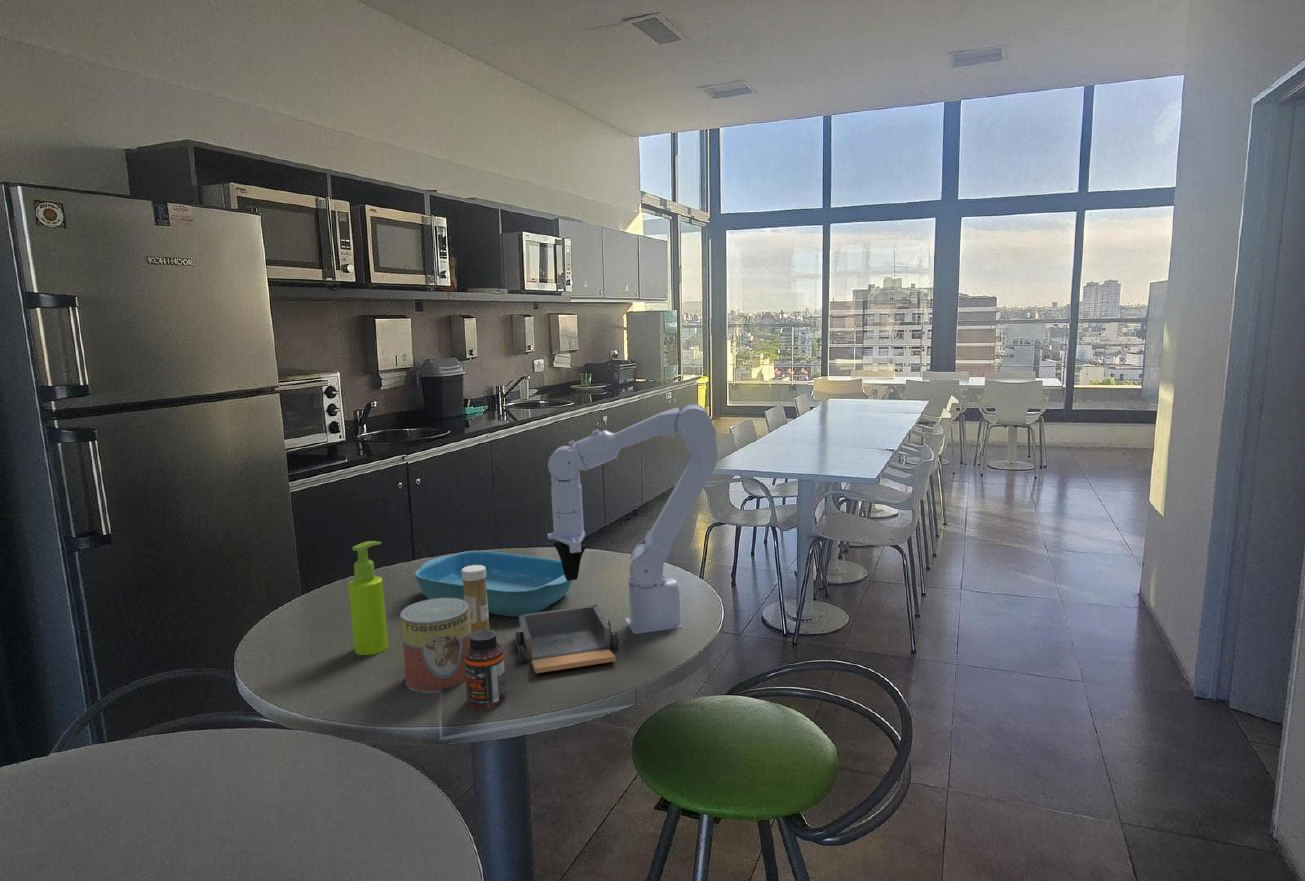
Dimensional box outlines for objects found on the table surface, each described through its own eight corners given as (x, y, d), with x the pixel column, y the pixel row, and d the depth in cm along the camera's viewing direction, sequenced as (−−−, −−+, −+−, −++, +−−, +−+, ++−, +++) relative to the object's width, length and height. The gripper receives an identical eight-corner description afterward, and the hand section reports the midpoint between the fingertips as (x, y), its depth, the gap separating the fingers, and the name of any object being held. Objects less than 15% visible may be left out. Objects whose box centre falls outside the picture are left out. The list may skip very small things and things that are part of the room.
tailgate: (608, 649, 134) (615, 656, 129) (608, 653, 134) (615, 661, 129) (531, 660, 131) (535, 668, 125) (531, 665, 131) (535, 673, 125)
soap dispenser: (399, 642, 143) (390, 540, 140) (371, 657, 137) (361, 550, 134) (375, 638, 145) (366, 537, 143) (347, 652, 139) (337, 547, 136)
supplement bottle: (459, 709, 117) (454, 639, 115) (482, 691, 122) (477, 624, 121) (492, 715, 115) (487, 644, 113) (513, 697, 120) (509, 629, 118)
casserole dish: (596, 591, 168) (594, 560, 167) (539, 629, 148) (537, 594, 147) (463, 574, 184) (461, 545, 182) (396, 606, 164) (393, 574, 163)
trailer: (603, 625, 148) (602, 603, 147) (618, 652, 135) (617, 628, 134) (513, 638, 143) (512, 615, 142) (521, 667, 130) (519, 642, 130)
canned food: (412, 699, 121) (406, 627, 119) (400, 672, 130) (394, 605, 129) (482, 682, 126) (477, 613, 124) (465, 657, 136) (461, 593, 134)
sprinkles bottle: (494, 636, 144) (489, 568, 143) (471, 642, 142) (465, 573, 140) (485, 628, 148) (480, 562, 146) (462, 634, 146) (457, 567, 144)
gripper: (541, 503, 149) (545, 570, 151) (552, 521, 136) (556, 593, 138) (576, 500, 151) (580, 566, 153) (590, 517, 137) (594, 589, 139)
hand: (571, 579), depth 146 cm, fingers closed
